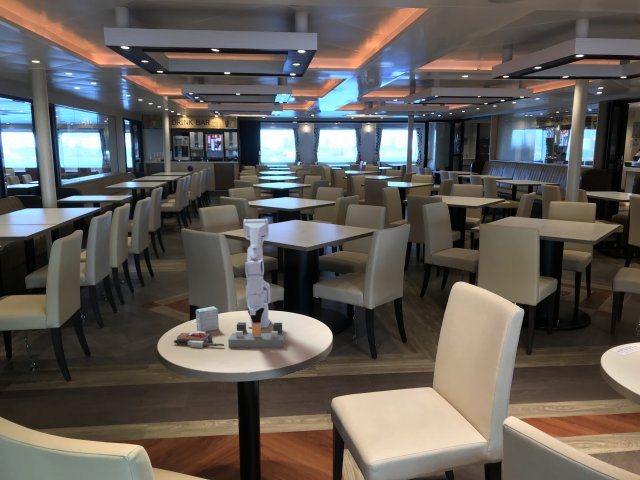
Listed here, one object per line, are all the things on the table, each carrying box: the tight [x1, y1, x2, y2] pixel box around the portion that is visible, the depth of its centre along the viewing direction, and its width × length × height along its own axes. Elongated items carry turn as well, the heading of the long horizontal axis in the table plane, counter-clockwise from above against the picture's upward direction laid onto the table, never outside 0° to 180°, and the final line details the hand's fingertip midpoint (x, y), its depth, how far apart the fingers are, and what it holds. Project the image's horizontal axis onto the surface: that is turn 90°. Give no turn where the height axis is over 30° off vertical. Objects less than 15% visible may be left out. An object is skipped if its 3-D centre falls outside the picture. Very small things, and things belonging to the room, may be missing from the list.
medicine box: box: [195, 306, 220, 333], centre depth 210 cm, size 8×4×9 cm, turn 123°
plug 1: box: [236, 321, 248, 333], centre depth 202 cm, size 10×3×6 cm, turn 176°
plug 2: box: [272, 322, 283, 333], centre depth 201 cm, size 10×3×6 cm, turn 176°
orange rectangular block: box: [251, 322, 262, 336], centre depth 192 cm, size 1×3×5 cm, turn 87°
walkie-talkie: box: [173, 330, 225, 349], centre depth 195 cm, size 9×4×20 cm
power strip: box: [227, 330, 286, 349], centre depth 193 cm, size 7×20×5 cm, turn 87°
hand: (256, 328), depth 192 cm, fingers closed, pressing on orange rectangular block
